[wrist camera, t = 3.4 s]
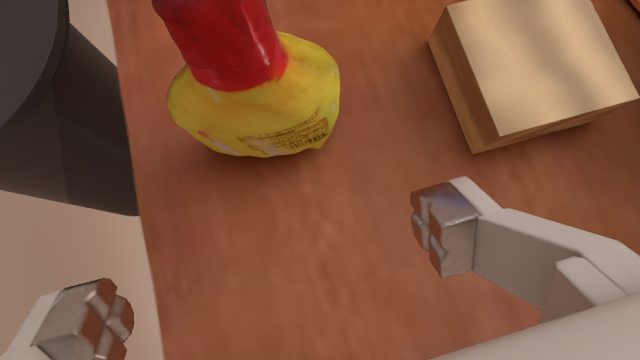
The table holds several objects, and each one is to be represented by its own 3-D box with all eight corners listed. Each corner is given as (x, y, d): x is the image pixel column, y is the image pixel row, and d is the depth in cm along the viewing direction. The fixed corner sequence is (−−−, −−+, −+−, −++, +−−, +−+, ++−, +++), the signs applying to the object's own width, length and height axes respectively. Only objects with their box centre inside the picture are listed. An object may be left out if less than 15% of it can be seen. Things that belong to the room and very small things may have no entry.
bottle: (208, 175, 31) (23, 40, 12) (202, 109, 32) (28, -113, 13) (340, 157, 32) (379, -3, 12) (330, 92, 33) (349, -147, 13)
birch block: (471, 155, 32) (499, 136, 27) (427, 41, 34) (445, 5, 29) (591, 121, 32) (640, 97, 28) (540, 12, 35) (576, -27, 30)
